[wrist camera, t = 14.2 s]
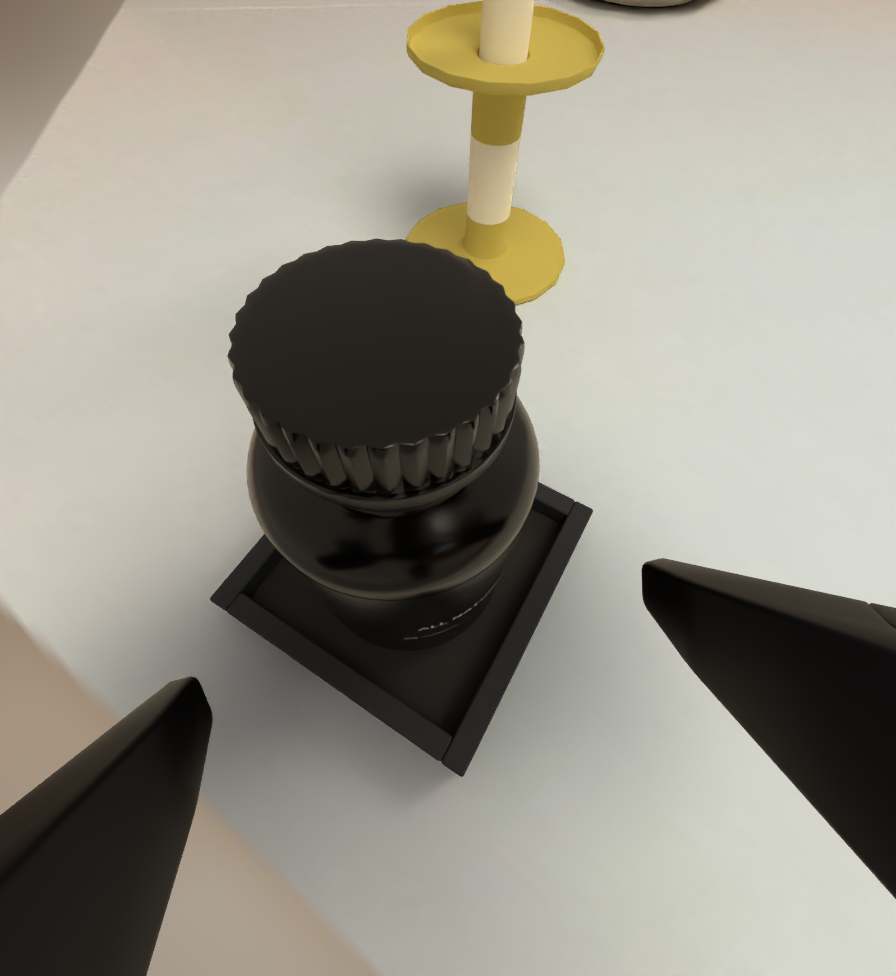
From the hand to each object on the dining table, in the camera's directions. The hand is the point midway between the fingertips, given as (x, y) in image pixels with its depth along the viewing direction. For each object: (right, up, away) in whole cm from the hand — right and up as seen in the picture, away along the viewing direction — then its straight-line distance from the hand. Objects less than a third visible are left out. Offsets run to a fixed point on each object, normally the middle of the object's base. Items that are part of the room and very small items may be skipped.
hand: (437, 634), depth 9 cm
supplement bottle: (-1, 0, +9) cm, 9 cm away
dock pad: (-1, 0, +10) cm, 10 cm away
